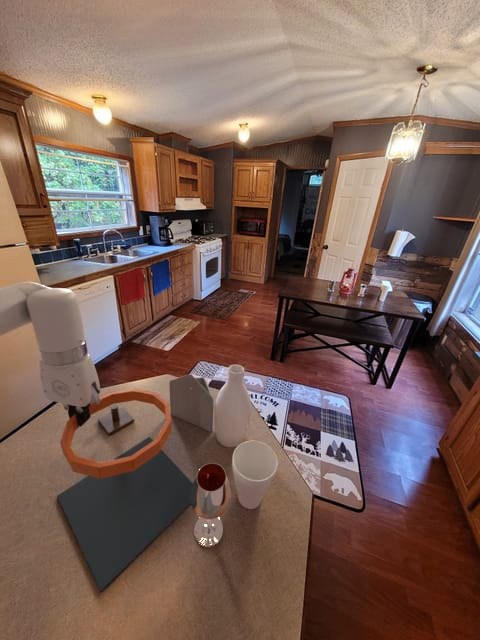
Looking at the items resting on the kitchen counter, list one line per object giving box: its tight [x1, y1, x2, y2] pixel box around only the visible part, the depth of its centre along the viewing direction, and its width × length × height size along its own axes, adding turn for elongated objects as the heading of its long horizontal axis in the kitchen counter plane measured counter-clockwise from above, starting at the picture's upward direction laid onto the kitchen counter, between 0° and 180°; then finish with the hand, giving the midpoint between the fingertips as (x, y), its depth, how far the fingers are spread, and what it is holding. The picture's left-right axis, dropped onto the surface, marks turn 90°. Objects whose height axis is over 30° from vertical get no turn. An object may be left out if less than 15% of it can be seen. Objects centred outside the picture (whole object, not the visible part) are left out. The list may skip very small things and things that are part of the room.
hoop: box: [59, 388, 172, 479], centre depth 56 cm, size 21×21×3 cm
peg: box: [97, 404, 135, 436], centre depth 80 cm, size 8×8×6 cm
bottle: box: [213, 364, 252, 448], centre depth 75 cm, size 11×11×25 cm
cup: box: [231, 439, 279, 510], centre depth 61 cm, size 10×10×14 cm
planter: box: [168, 373, 215, 433], centre depth 83 cm, size 16×8×19 cm, turn 65°
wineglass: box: [190, 462, 232, 548], centre depth 52 cm, size 8×8×18 cm
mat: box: [56, 436, 193, 593], centre depth 61 cm, size 24×24×1 cm
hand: (81, 420), depth 57 cm, fingers closed on hoop, 1 cm apart
